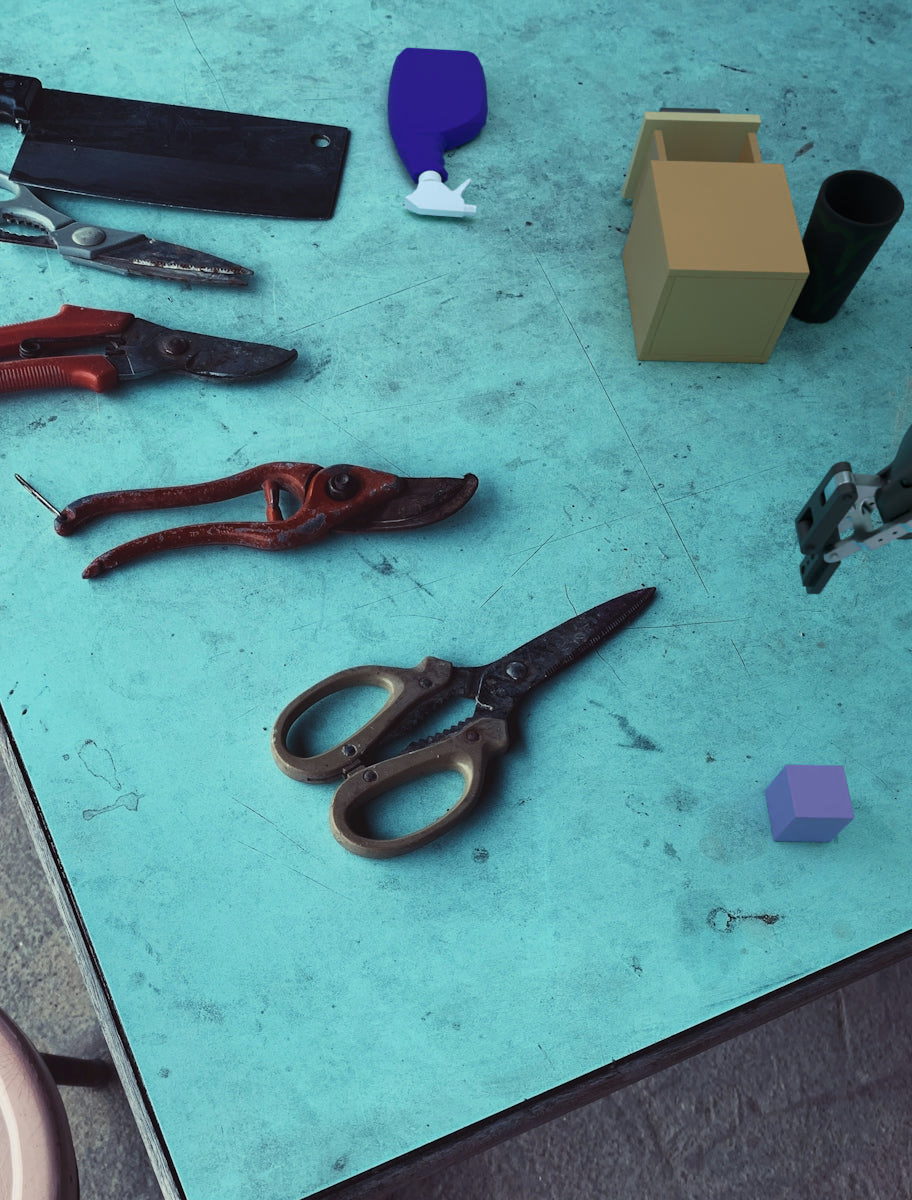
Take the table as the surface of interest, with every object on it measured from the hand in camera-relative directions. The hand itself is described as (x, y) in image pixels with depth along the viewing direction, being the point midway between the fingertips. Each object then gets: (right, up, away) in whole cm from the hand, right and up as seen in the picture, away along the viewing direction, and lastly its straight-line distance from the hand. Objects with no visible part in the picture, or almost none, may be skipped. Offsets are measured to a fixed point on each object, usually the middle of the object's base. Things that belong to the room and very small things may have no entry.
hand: (872, 586), depth 81 cm
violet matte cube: (0, -16, +14) cm, 21 cm away
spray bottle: (-25, +56, +48) cm, 78 cm away
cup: (+12, +35, +39) cm, 54 cm away
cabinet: (0, +35, +38) cm, 52 cm away
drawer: (0, +45, +42) cm, 62 cm away
